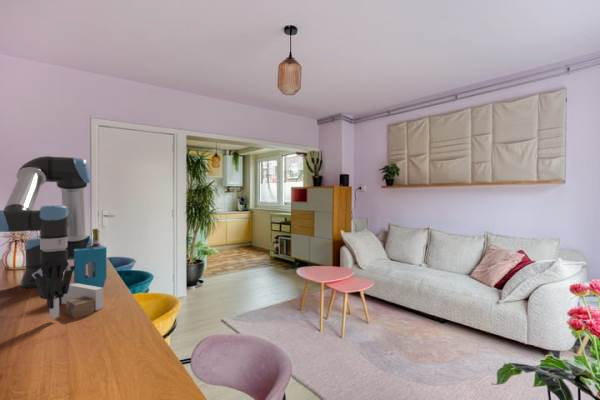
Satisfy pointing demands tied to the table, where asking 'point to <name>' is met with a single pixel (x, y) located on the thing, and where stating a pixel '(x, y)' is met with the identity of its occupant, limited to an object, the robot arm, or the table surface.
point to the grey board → (85, 294)
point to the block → (83, 259)
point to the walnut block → (80, 307)
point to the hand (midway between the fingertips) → (54, 316)
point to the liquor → (95, 244)
